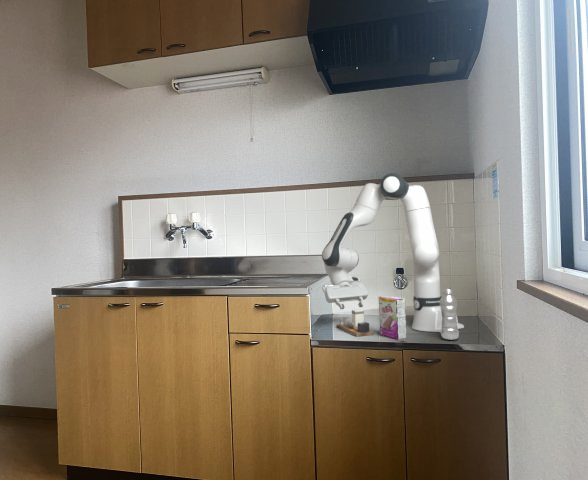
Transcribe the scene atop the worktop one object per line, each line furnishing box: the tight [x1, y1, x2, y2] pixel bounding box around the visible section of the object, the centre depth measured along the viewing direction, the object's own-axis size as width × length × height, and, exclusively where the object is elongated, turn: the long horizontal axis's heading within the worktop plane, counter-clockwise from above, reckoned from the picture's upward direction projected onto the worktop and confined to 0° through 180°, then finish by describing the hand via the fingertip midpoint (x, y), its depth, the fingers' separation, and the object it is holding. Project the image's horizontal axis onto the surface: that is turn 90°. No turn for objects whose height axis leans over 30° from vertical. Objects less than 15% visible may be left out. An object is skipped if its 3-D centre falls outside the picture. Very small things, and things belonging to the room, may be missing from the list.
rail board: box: [336, 316, 375, 338], centre depth 185 cm, size 8×20×4 cm, turn 19°
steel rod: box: [344, 321, 370, 333], centre depth 185 cm, size 4×20×4 cm, turn 19°
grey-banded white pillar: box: [351, 308, 365, 330], centre depth 181 cm, size 4×3×8 cm
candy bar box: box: [378, 295, 408, 341], centre depth 172 cm, size 11×5×16 cm, turn 30°
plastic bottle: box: [440, 287, 460, 341], centre depth 164 cm, size 6×7×20 cm
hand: (352, 307), depth 186 cm, fingers open, 8 cm apart
